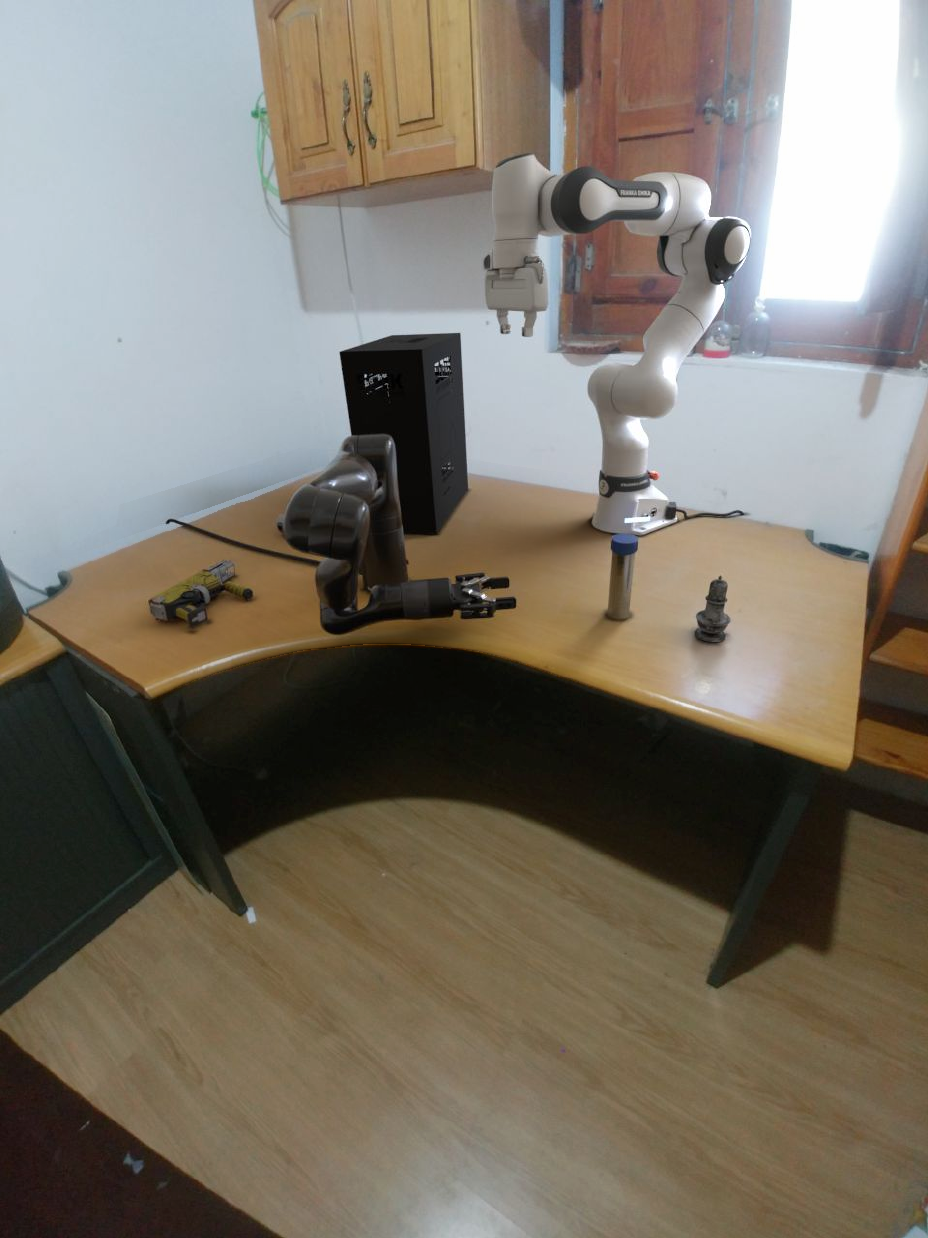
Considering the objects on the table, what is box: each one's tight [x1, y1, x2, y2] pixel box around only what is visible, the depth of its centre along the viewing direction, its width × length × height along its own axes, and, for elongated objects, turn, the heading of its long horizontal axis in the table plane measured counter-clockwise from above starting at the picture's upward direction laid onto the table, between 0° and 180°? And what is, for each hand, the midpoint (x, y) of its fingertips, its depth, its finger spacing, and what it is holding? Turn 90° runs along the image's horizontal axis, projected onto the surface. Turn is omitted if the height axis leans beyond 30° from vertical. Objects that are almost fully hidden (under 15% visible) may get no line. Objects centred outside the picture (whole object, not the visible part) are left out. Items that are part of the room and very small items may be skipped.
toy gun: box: [148, 558, 254, 629], centre depth 131 cm, size 5×24×15 cm
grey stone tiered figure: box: [694, 575, 731, 643], centre depth 107 cm, size 6×6×12 cm
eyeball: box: [275, 512, 285, 535], centre depth 163 cm, size 6×6×6 cm
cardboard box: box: [339, 332, 469, 535], centre depth 166 cm, size 38×20×45 cm, turn 167°
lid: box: [609, 533, 639, 555], centre depth 111 cm, size 5×5×2 cm
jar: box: [606, 550, 636, 621], centre depth 115 cm, size 4×4×16 cm
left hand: (512, 591), depth 114 cm, fingers open, 8 cm apart
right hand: (516, 335), depth 125 cm, fingers open, 8 cm apart
